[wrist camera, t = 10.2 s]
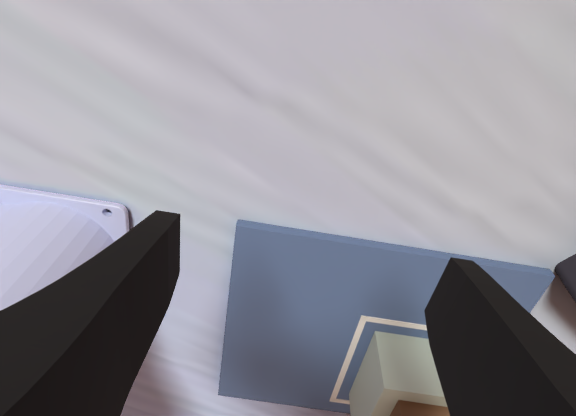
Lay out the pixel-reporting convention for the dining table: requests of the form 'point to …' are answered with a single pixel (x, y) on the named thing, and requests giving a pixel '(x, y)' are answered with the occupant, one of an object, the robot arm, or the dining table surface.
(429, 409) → the walnut block
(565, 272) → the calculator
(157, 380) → the dining table surface
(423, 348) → the sage base block
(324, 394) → the board
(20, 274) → the robot arm
